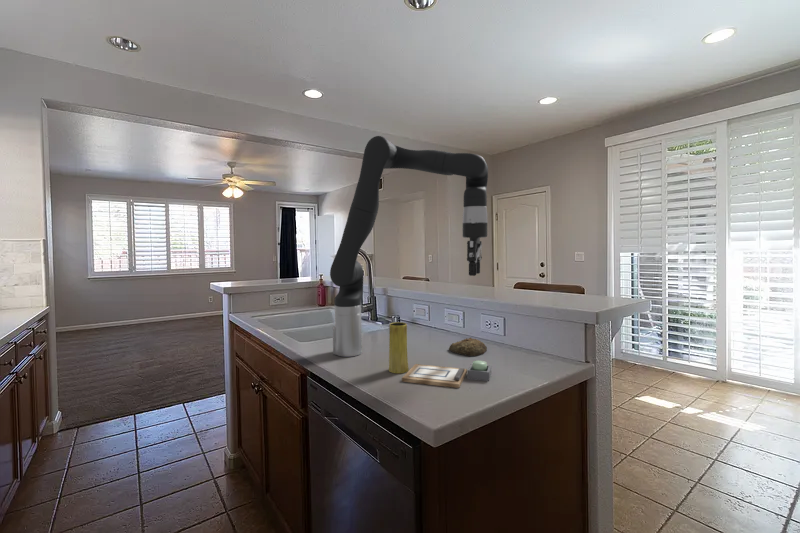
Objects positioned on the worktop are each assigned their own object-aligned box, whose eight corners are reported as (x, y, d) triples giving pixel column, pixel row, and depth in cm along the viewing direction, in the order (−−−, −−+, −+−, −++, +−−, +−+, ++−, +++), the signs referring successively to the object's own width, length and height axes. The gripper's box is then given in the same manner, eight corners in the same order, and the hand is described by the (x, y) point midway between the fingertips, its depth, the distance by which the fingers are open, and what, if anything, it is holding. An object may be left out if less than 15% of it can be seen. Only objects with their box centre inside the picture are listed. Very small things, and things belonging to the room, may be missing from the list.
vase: (406, 374, 110) (406, 326, 109) (386, 373, 111) (385, 325, 111) (410, 367, 116) (409, 322, 115) (390, 366, 117) (390, 321, 117)
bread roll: (470, 359, 126) (470, 344, 126) (444, 351, 135) (444, 337, 135) (494, 351, 134) (494, 338, 134) (467, 345, 143) (467, 332, 143)
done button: (471, 371, 106) (471, 364, 106) (473, 366, 110) (473, 360, 110) (485, 372, 105) (485, 365, 105) (487, 368, 109) (487, 361, 109)
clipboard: (401, 381, 104) (401, 374, 104) (415, 367, 117) (415, 361, 117) (459, 388, 99) (459, 380, 99) (467, 372, 111) (467, 366, 111)
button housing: (467, 378, 106) (467, 370, 106) (470, 372, 112) (470, 363, 111) (489, 381, 104) (489, 372, 104) (491, 374, 110) (491, 365, 109)
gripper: (466, 223, 124) (466, 272, 124) (458, 221, 110) (458, 276, 111) (489, 223, 121) (489, 273, 122) (484, 220, 108) (484, 276, 109)
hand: (474, 274), depth 117 cm, fingers open, 8 cm apart
